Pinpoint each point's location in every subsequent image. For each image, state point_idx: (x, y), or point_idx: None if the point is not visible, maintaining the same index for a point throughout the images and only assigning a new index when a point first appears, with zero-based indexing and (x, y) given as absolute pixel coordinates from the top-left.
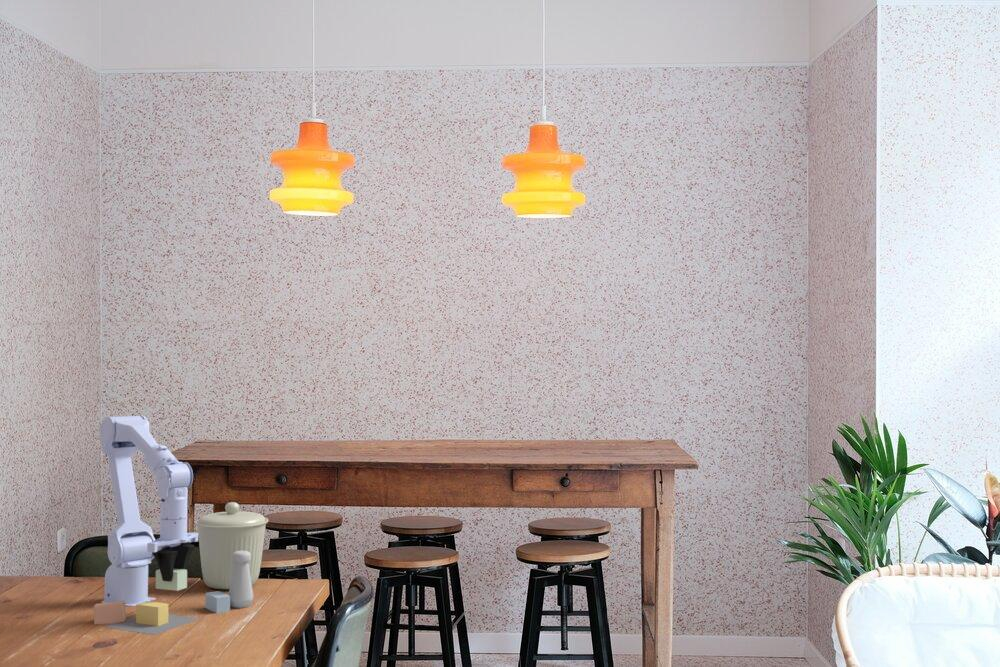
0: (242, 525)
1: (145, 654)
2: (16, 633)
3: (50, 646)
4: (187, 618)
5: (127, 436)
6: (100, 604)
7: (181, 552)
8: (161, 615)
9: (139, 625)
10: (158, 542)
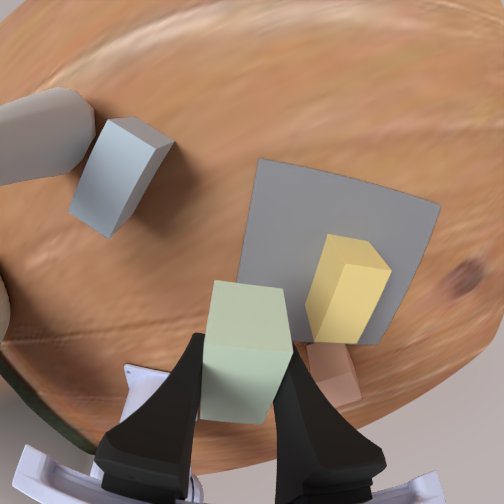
0: None
1: None
2: (387, 410)
3: (461, 341)
4: (270, 199)
5: None
6: (342, 400)
7: (186, 454)
8: (365, 252)
9: None
10: None
